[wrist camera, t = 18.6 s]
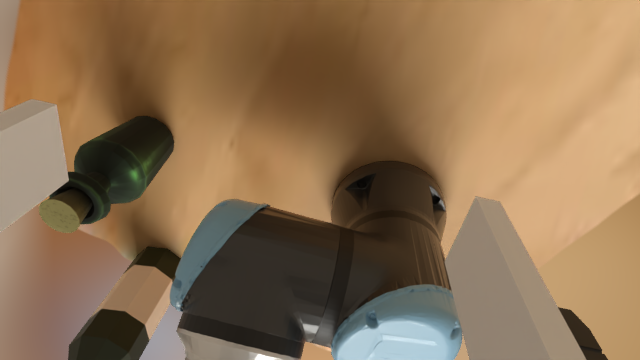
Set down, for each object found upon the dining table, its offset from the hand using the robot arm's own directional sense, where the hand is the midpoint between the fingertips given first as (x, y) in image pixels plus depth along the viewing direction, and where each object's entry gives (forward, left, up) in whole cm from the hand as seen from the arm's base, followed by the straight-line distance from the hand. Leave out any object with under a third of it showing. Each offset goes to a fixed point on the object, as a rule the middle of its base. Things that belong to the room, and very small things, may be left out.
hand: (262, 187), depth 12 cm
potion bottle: (+21, +19, -35) cm, 45 cm away
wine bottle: (+20, +42, -35) cm, 58 cm away
